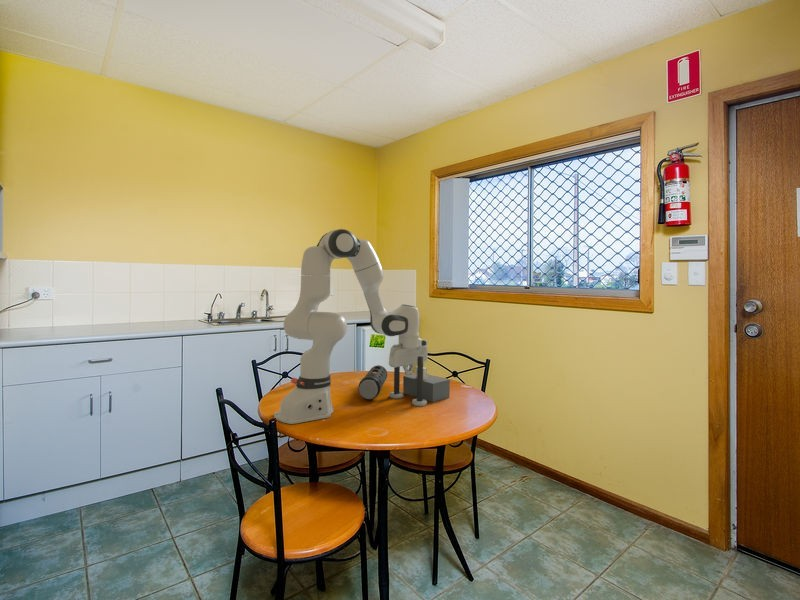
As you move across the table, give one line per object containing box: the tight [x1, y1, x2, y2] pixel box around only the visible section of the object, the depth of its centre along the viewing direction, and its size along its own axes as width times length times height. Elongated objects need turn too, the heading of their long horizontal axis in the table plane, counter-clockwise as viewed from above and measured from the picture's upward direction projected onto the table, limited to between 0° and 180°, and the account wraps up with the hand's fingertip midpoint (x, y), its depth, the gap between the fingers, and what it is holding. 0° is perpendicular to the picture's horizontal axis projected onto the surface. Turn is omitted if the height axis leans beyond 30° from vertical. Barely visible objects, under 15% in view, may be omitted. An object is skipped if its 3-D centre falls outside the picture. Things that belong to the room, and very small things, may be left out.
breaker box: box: [402, 373, 451, 403], centre depth 186 cm, size 11×18×8 cm, turn 44°
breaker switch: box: [414, 366, 428, 380], centre depth 183 cm, size 2×5×5 cm, turn 44°
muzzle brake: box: [357, 364, 388, 400], centre depth 188 cm, size 10×28×10 cm, turn 174°
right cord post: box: [411, 356, 428, 407], centre depth 173 cm, size 6×6×20 cm
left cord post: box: [389, 366, 404, 400], centre depth 183 cm, size 6×6×20 cm
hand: (408, 374), depth 178 cm, fingers closed
